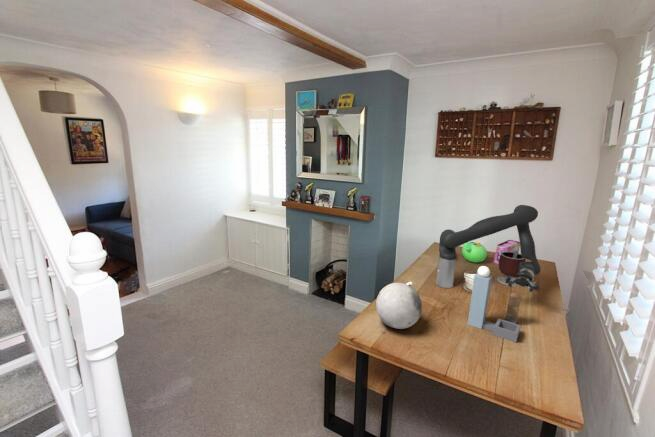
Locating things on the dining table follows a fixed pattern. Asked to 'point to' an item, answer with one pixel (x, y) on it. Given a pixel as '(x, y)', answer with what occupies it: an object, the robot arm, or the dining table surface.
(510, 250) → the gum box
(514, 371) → the dining table surface
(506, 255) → the mate gourd
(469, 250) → the green rounded lump
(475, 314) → the post
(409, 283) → the bull figurine
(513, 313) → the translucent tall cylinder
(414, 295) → the moon model
